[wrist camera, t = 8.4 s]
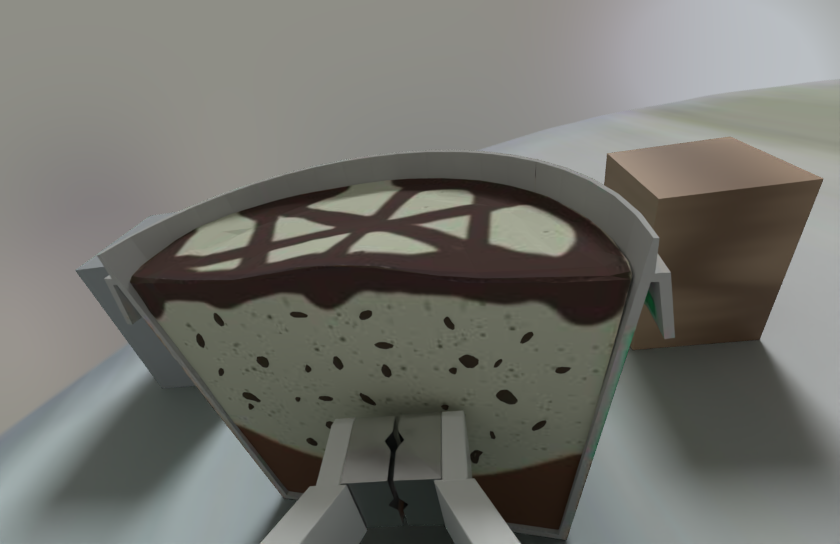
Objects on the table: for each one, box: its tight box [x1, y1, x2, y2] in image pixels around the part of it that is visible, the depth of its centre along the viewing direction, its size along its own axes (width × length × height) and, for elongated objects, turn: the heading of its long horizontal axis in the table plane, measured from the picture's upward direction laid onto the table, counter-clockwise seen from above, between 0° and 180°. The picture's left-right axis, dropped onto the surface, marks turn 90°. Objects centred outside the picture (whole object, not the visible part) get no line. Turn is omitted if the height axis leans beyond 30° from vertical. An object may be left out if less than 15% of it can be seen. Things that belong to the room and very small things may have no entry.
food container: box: [97, 150, 675, 540], centre depth 13 cm, size 12×6×10 cm, turn 78°
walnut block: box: [604, 137, 823, 350], centre depth 17 cm, size 5×5×7 cm
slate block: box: [76, 212, 196, 388], centre depth 20 cm, size 5×5×7 cm
